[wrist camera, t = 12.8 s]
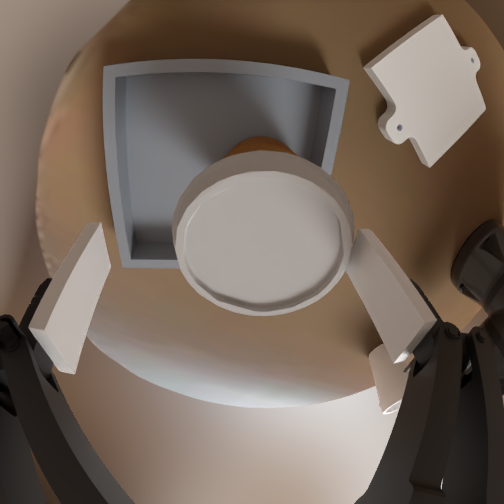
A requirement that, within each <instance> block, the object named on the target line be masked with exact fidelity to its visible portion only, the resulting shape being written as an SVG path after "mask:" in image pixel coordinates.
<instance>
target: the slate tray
mask: <svg viewBox="0 0 504 504" xmlns="http://www.w3.org/2000/svg"><path fill="white" fill-rule="evenodd" d="M349 82H350V80H347V79H343V78H340V77H336V76H332V75H328V74H323V73H319V72H314V71H310V70H305V69H299V68H294V67H288V66H282V65H275V64H267V63H259V62H250V61H238V60H223V59H166V60H151V61H140V62H131V63H123V64H116V65H109V66H103V132H104V148H105V160H106V171H107V180H108V188H109V195H110V202H111V209H112V215H113V221H114V227H115V232H116V238H117V243H118V248H119V252H120V257H121V261H122V266H123V268H180V266H179V263H178V259H177V255H176V251H175V248H174V244H173V236H172V222H173V215H174V211H175V209H176V206H177V203H178V201H179V198H180V196H181V195H182V193H183V192H184V191H185V189H186V188H187V187H188V185H189V184H190V183H191V181H192V180H193V179H194V178H195V177H196V176H197V175H198V174H200V173H201V172H202V171H204V170H205V169H206V168H208V167H209V166H210V165H212V164H213V163H215V162H217V161H220V160H222V159H223V158H224V157H225V156H226V155H227V154H228V153H229V152H230V151H231V150H232V149H233V148H234V147H235V146H236V145H237V144H238V143H240V142H241V141H243V140H245V139H248V138H251V137H257V136H265V137H271V138H274V139H276V140H279V141H281V142H282V143H283V144H285V145H286V146H287V147H288V148H289V149H291V150H292V151H293V152H294V153H295V154H297V156H299V157H302V158H304V159H306V160H308V161H310V162H312V163H314V164H315V165H317V166H319V167H321V168H322V169H323V170H324V171H325V172H327V173H328V174H329V175H330V176H331V173H332V168H333V164H334V159H335V155H336V150H337V145H338V141H339V136H340V131H341V126H342V121H343V116H344V110H345V105H346V99H347V94H348V88H349Z"/></svg>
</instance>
